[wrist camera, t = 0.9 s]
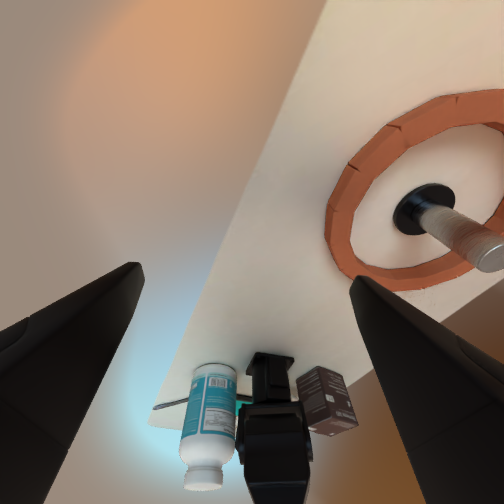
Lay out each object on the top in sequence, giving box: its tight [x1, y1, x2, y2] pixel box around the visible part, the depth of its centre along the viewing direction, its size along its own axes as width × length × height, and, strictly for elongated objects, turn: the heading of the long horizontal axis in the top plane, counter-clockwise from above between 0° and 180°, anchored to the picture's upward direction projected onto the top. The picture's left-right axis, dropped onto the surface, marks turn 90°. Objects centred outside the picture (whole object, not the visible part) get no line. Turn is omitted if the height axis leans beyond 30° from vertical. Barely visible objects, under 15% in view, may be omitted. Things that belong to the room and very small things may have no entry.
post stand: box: [393, 183, 504, 273], centre depth 17 cm, size 5×5×8 cm
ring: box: [324, 89, 504, 292], centre depth 19 cm, size 18×18×2 cm
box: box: [296, 367, 359, 436], centre depth 36 cm, size 6×6×7 cm
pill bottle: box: [179, 364, 237, 491], centre depth 32 cm, size 8×7×14 cm
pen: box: [153, 398, 189, 410], centre depth 43 cm, size 1×1×14 cm
